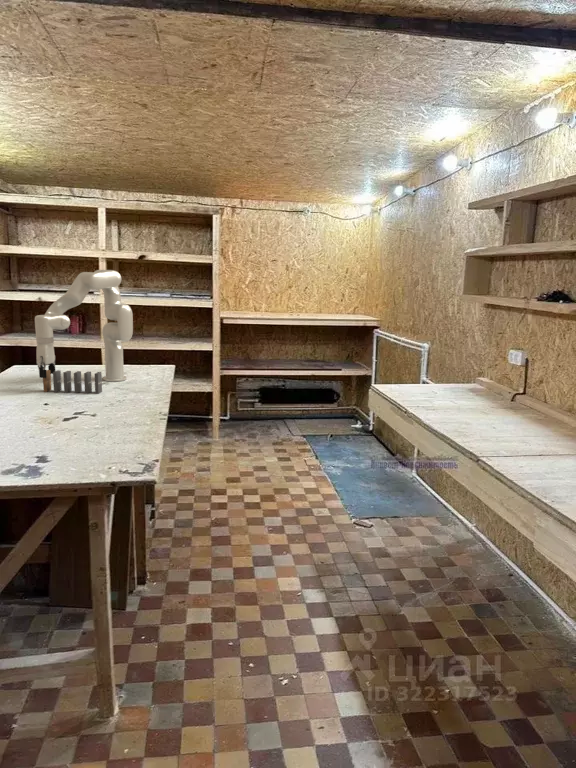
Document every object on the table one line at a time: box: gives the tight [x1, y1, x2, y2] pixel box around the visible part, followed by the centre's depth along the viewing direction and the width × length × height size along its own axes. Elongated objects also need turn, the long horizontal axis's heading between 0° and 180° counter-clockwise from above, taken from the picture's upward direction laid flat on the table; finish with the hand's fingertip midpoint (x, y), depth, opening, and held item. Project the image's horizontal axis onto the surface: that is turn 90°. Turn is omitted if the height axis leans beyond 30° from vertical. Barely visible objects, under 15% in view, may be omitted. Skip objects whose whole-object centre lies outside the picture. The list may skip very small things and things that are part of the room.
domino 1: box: [42, 369, 52, 393], centre depth 250 cm, size 2×5×10 cm, turn 1°
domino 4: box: [73, 370, 83, 394], centre depth 250 cm, size 2×5×10 cm, turn 1°
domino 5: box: [83, 371, 93, 395], centre depth 250 cm, size 2×5×10 cm, turn 1°
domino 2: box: [52, 369, 62, 393], centre depth 250 cm, size 2×5×10 cm, turn 1°
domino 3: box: [62, 370, 73, 394], centre depth 250 cm, size 2×5×10 cm, turn 1°
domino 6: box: [94, 371, 103, 395], centre depth 250 cm, size 2×5×10 cm, turn 1°
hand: (47, 375), depth 250 cm, fingers open, 9 cm apart
